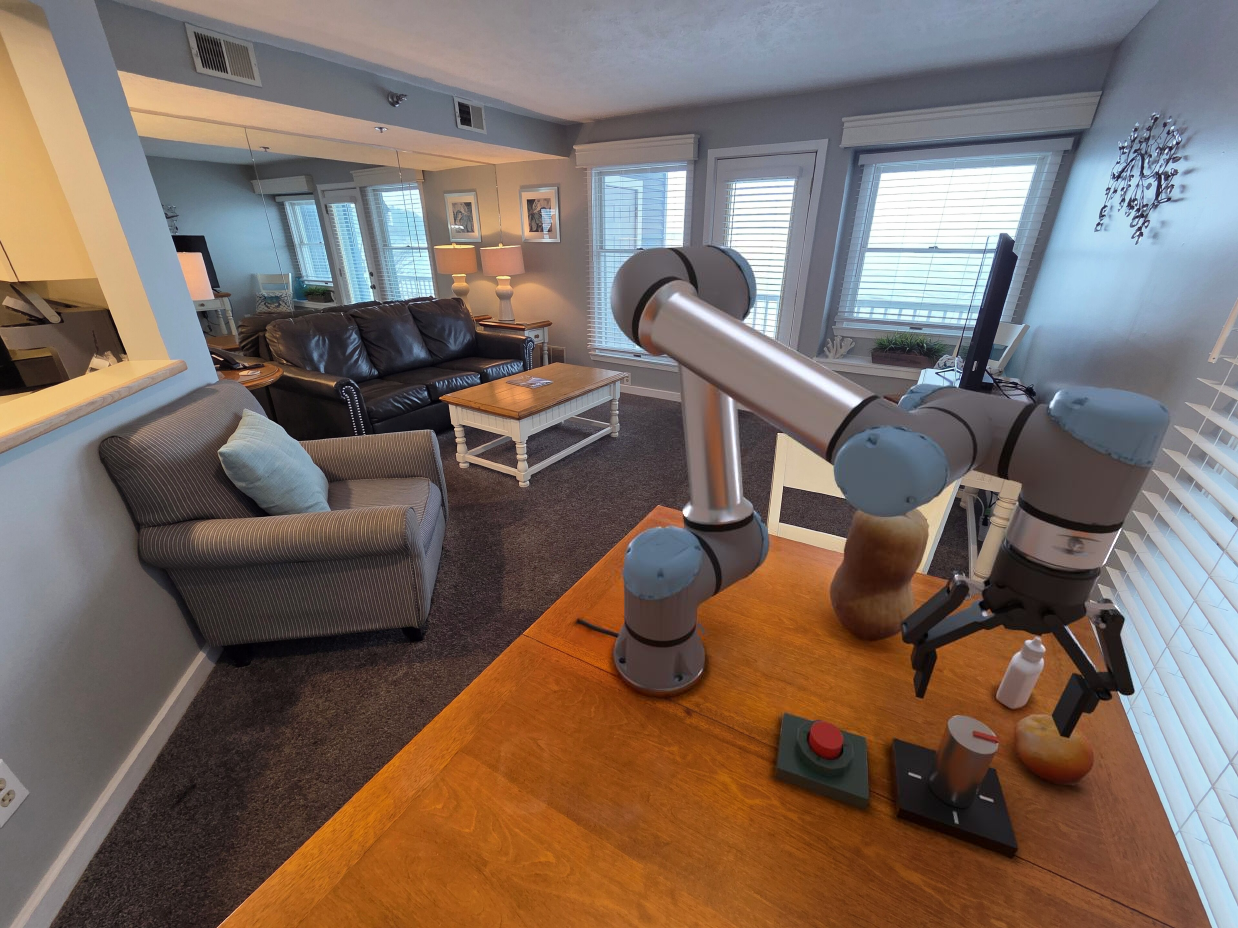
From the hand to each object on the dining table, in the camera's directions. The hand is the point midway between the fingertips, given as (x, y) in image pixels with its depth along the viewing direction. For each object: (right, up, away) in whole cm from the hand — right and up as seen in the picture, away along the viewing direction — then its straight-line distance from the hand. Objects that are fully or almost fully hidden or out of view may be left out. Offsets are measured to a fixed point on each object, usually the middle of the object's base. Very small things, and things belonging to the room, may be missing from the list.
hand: (985, 707), depth 57 cm
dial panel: (0, -15, +7) cm, 17 cm away
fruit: (+16, -13, +11) cm, 23 cm away
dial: (0, -13, +6) cm, 15 cm away
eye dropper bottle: (+19, -9, +21) cm, 29 cm away
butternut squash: (+3, -2, +35) cm, 35 cm away
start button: (-14, -10, +10) cm, 20 cm away
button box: (-14, -13, +11) cm, 23 cm away
